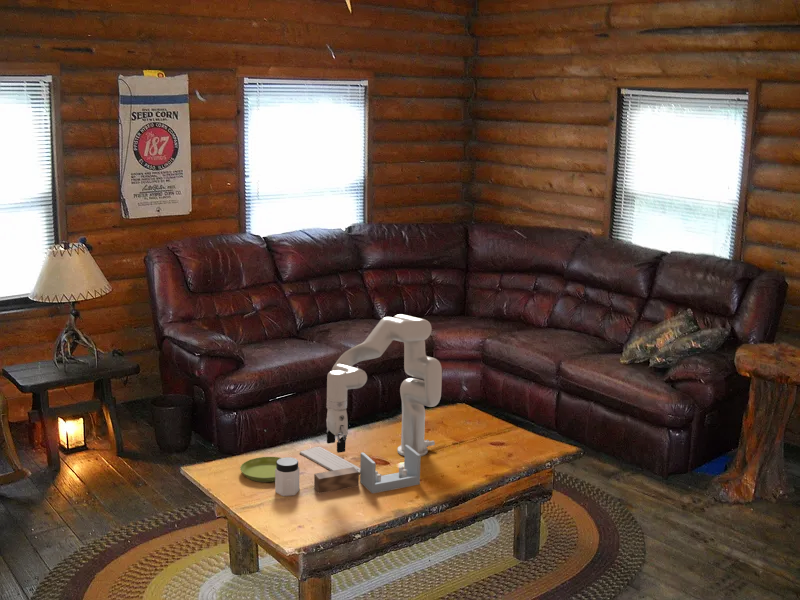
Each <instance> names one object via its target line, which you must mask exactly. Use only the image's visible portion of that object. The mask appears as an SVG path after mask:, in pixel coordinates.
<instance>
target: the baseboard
mask: <svg viewBox="0 0 800 600" xmlns="http://www.w3.org/2000/svg"><path fill="white" fill-rule="evenodd" d="M299 454H300V455H301V456H304V457H306V458H307V459H309V460H311V461H313V462H314V463H316V464H318V465H320V466H322V467H324V469H326V470H328V471H334V470H339V469H345V468H351V467H354V468H355V469H356V470H357V471H358V472H359V475H360V467H359V466H357V465H355V464H354V463H352V462H350V461H348V460H346V459H344V458H342V457H340V456H338V455H337V454H335V453H332V452H331V451H330V450H328V449H325V448H323V447H321V446H315V447H311V448H308V449H304V450H301V451H299Z"/></svg>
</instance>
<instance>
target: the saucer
mask: <svg viewBox="0 0 800 600" xmlns="http://www.w3.org/2000/svg"><path fill="white" fill-rule="evenodd" d="M280 458H281V457H278V456H262V457H261V456H260V457H256V458H252V459H249V460H247V461H245V462H243V463H242V464H241V465H240V468H239V469H240V471H241V473H242V474H243V476H244V477H245V478H247V479H249V480H251V481H254V482H259V483H272V482H274V483H275V469H276V461H277V460H278V459H280Z"/></svg>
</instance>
